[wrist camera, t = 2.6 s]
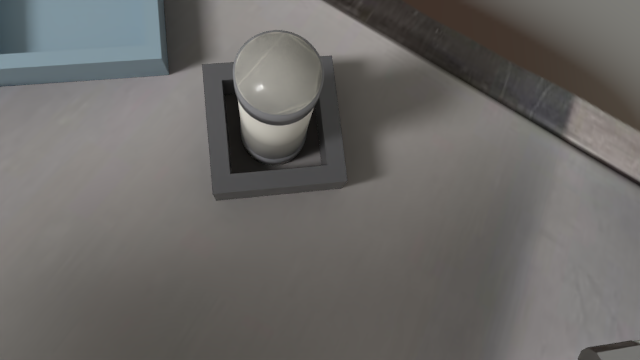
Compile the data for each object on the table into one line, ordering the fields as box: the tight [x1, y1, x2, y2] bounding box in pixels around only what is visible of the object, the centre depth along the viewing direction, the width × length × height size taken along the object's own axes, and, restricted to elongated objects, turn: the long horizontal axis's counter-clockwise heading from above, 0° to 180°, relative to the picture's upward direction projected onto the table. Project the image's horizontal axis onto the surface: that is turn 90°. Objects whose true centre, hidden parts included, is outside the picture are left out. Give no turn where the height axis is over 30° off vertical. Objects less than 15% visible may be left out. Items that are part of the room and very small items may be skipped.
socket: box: [202, 56, 347, 201], centre depth 38 cm, size 9×9×3 cm
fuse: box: [233, 30, 324, 166], centre depth 34 cm, size 5×5×12 cm
